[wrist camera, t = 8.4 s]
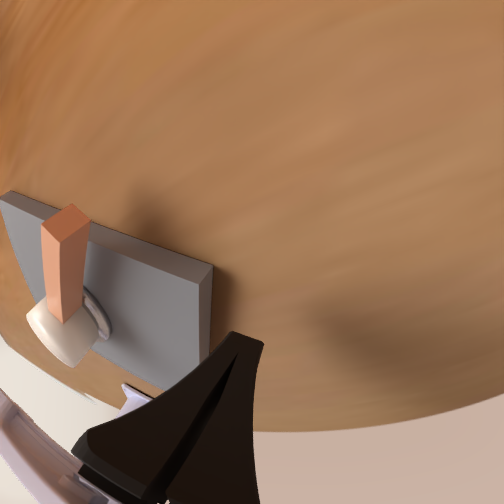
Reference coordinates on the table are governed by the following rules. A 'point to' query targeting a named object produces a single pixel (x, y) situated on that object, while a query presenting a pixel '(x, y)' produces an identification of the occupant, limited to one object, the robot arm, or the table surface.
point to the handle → (64, 288)
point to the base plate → (127, 294)
